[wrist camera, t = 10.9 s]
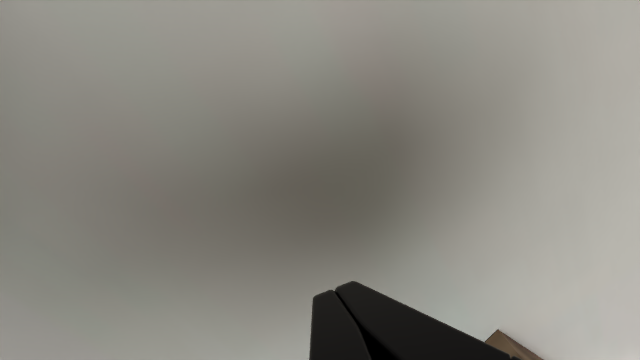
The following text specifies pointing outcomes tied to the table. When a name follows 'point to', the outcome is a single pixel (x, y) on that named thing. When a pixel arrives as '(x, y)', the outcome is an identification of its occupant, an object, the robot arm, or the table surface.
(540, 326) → the table surface
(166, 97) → the table surface
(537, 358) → the corral
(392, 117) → the table surface
